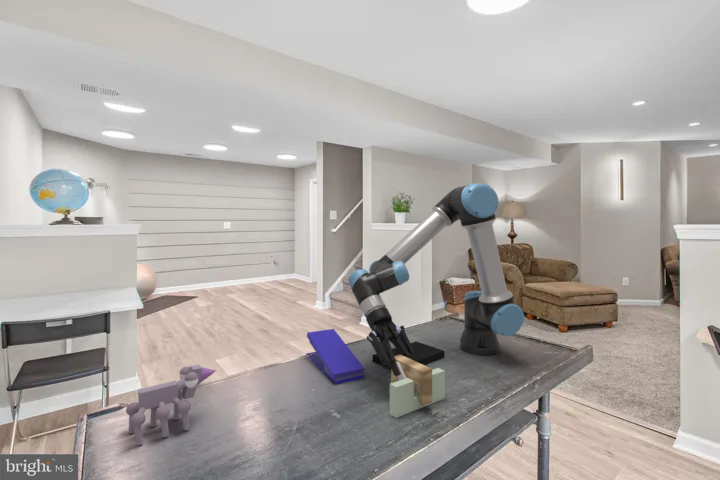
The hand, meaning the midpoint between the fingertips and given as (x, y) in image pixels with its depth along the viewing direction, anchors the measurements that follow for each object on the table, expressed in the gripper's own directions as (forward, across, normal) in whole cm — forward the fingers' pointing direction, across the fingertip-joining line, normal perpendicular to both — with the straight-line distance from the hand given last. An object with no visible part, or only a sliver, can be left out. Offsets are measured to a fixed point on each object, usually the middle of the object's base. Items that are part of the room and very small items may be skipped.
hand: (411, 383), depth 99 cm
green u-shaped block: (+5, 0, -2) cm, 6 cm away
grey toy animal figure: (-13, +56, -21) cm, 61 cm away
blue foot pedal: (-20, +6, -28) cm, 35 cm away
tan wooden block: (+2, 0, -2) cm, 3 cm away
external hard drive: (-13, -20, -21) cm, 32 cm away
